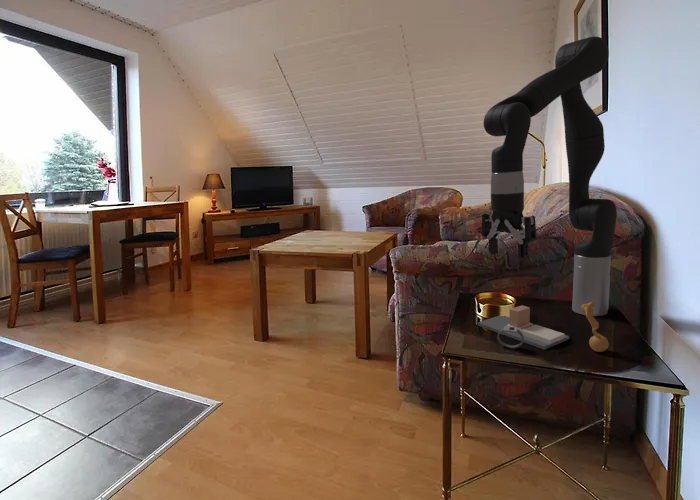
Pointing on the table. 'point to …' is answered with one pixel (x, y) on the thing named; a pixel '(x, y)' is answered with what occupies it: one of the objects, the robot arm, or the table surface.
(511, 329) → the wristwatch
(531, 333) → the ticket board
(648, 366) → the table surface
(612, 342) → the table surface
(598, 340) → the figurine
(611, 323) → the table surface
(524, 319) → the tan rectangular block
